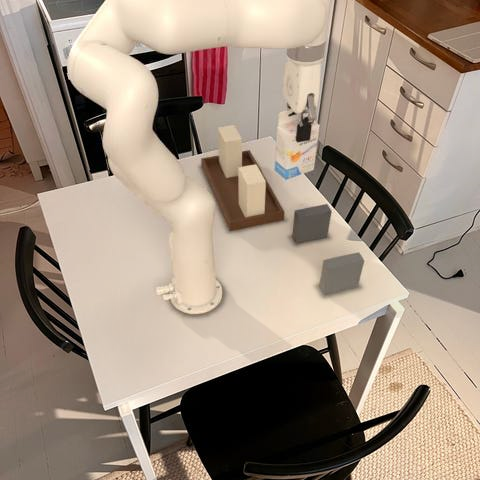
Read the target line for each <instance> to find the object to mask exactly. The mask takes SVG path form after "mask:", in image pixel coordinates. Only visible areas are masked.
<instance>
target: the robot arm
mask: <svg viewBox="0 0 480 480" xmlns="http://www.w3.org/2000/svg"><path fill="white" fill-rule="evenodd" d="M331 2H332V0H104V2H103V3H102V4H101V6H100V7H99V8H98V10H97V11H96V12H95V14H94V15H93V16H92V18H91V19H90V20H89V22H88V23H87V24H86V26H85V27H84V28H83V30H82V31H81V32H80V34H79V36H78V37H77V38H76V39H75V41H74V43H73V45H72V46H71V48H70V50H69V53H68V57H67V62H66V70H67V76H68V78H69V81H70V82H71V84H72V85H73V87H74V88H75V89H76V90H77V91H78V92H79V93H80V94H82V95H83V96H85V97H86V98H87V99H89V100H91V101H92V102H94V103H96V104H97V105H99V106H100V107H102V108H103V109H105V110H106V117H105V122H104V124H103V125H104V126H103V131H102V148H103V151H104V153H105V154H106V156H107V161H108V162H107V163H108V166H109V169H110V171H111V173H112V174H113V176H114V177H115V178H116V179H117V180H118V181H119V182H120V183H122V184H123V185H124V186H125V187H126V188H127V189H128V190H129V191H130V192H132V194H134V195H135V196H136V197H137V198H138V199H139V200H140V201H141V202H143V203H144V204H145V205H147V206H148V207H149V208H150V209H152V210H153V211H155V212H156V213H157V214H159V215H160V217H162V218H163V219H165V220H166V221H167V222H168V223H169V224H170V225H171V227H172V230H171V231H170V233H169V235H168V250H169V254H170V260H171V266H172V274H173V277H172V278H171V282H170V283H168V284H167V285H164V286H163V285H160V286H156V287H155V292H156V295H157V296H161V295H162V298H163V302H164V301H165V302H166V301H169V300H170V301H171V303H172V305H173V306H174V307H175V308H176V309H177V310H179V311H180V312H182V313H185V314H189V315H201V314H205V313H208V312H211V311H212V310H214V309H215V308H216V307H218V306H219V304H220V303H221V301H222V299H223V287H222V285H221V283H220V282H219V280H218V279H216V269H215V268H216V267H215V252H214V237H213V236H214V235H213V233H214V232H213V231H214V221H215V217H216V210H217V205H216V201H215V197H213V195H212V194H211V192H209V191H208V189H206V188H205V187H204V186H202V184H200V183H198V182H197V181H196V180H194V179H193V178H191V177H190V176H187V175H186V173H185V171H184V167H183V166H182V164H181V162H180V161H179V160H178V158H177V157H176V155H174V154H173V153H172V152H171V151H170V150H169V148H168V147H166V145H165V144H164V143H163V142H162V141H161V140H160V138H159V137H158V135H157V134H156V133H155V131H154V130H153V125H154V119H155V115H156V112H157V109H158V104H159V88H158V83H157V81H156V78H155V76H154V75H153V73H152V71H151V70H150V69H149V68H148V67H147V66H146V65H145V64H144V63H142V62H141V61H140V60H138V59H136V58H135V57H133V56H131V53H132V52H133V50H134V49H135V47H136V46H137V44H138V43H139V44H141V45H142V46H145V47H146V48H148V49H151V50H153V51H155V52H157V53H159V54H164V55H178V54H185V53H191V52H197V51H201V50H202V51H203V50H209V49H216V48H222V47H233V48H242V49H267V50H286V58H285V63H284V74H283V81H282V82H283V83H282V96H283V98H284V100H285V101H286V108H287V109H286V110H288V109H292V110H293V111H294V112H292V113H291V114H289V115H288V117H289V116H293V115H296V114H299V124H297V133H296V141H297V142H303V141H309V140H310V137H311V128H312V125H313V122H314V121H316V120H317V113H316V111H317V109H318V105H319V101H320V91H321V90H320V89H321V76H322V75H321V74H322V73H321V72H322V61H324V59H325V51H326V42H327V34H328V27H329V18H330V10H331ZM305 107H307V109H305V110H304V108H305ZM304 113H307V117H305V118H304V119H303V114H304Z"/></svg>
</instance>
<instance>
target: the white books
mask: <svg viewBox="0 0 480 480" xmlns="http://www.w3.org/2000/svg"><path fill="white" fill-rule="evenodd" d="M217 141H218V142H217V143H218V156H219V164H220V166H221V168H222V170H223V172H224V174H225V176H226V178H229V177H235V176H238V177H239V206H240V208H241V210H242V212H243V214H244V216H245V218H246V217H251V216H256V215H261V214H264V212H265V189H266V181H265V179H264V177H263V175H264V174H263V175H262V174H261V172H260V170H259V168H260V167H259V168H258V167H257V165H256V164H255V165H249V166H244V167H242V151H243V138H242V136H241V134H240V132H239V131H238V129H237V128H236V126H235V124H230V125H224V126H219V127H217Z"/></svg>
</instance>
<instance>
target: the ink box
mask: <svg viewBox="0 0 480 480" xmlns="http://www.w3.org/2000/svg"><path fill="white" fill-rule="evenodd" d="M287 109H288V110H287ZM287 109H285V110H282V111H280V112H279V113H278V122H277V128H276V129H277V130H276V142H275V143H276V145H275V158H274V159H275V161H274V171H275V172H276V173H277V174H278V175H279V176H281V178H283V179H284V180H285V181H287V180H290V179H293V178H295V177H297V176H300V175H304V174H306V173H308V172H311V171H314V169H315V163H316V156H317V148H318V141H319V134H320V127H321V125H320V124H319V123H317V122H316V120H314V122H313V125H312V128H311V137H310V140H309V141H303V142H297V141H296V133H297V124H299V114H296V115H293V116H289V117H288V115H289V114H291V113H292V112H294V111H293V110H292V109H289V108H287ZM305 109H307V107H305V108H304V110H305ZM307 116H308V113H304V114H303V119H304V118H305V117H307Z"/></svg>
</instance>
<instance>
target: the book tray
mask: <svg viewBox="0 0 480 480" xmlns="http://www.w3.org/2000/svg"><path fill="white" fill-rule="evenodd" d="M200 162H201V169H202V171H203V173H204V175H205V178H206V181H207V182H208V184H209V186H210V189H211V192H212V193H213V196H214V199H215V200H216V203H217V206H218V207H219V209H220V212H221V214H222V217H223V219H224V221H225V223H226V225H227V228H228V231H229V232H231V231H237V230H242V229H247V228H252V227H256V226H262V225H267V224H272V223H277V222H281V221H284V220H285V210H284V209H283V207H282V204H281V203H280V201H279V200H278V198H277V196H276V194H275V193H274V190H273V189H272V187H271V185H270V184H269V182H268V180H267V178H266V177H265V175H264V172H263V171H262V169H261V168H260V165H259V164H258V162H257V160H256V159H255V156H254V155H253V153H252V152H251V150H250V149H249V150H248V149H247V150H242V167H244V166H249V165H255V164H256V165H257V167H258V168H259V170H260V172H261V174H262V175H263V177H264V179H265V181H266V189H265V212H264V214H261V215H256V216H251V217H246V218H245V216H244V214H243V212H242V210H241V208H240V206H239V177H238V176H235V177H229V178H226V176H225V174H224V172H223V170H222V168H221V166H220V164H219V155H213V156H208V157H207V156H206V157H201V159H200Z"/></svg>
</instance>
